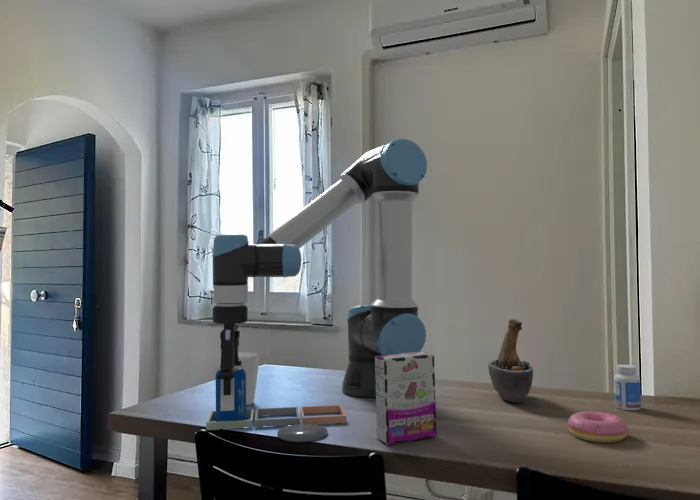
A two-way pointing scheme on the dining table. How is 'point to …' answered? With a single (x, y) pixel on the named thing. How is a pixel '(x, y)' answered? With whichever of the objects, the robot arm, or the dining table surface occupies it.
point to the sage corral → (229, 422)
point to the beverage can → (239, 397)
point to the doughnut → (597, 426)
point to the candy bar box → (405, 397)
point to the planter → (511, 368)
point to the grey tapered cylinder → (249, 373)
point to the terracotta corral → (322, 419)
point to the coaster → (302, 433)
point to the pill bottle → (627, 388)
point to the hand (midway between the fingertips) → (229, 402)
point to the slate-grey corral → (279, 420)
